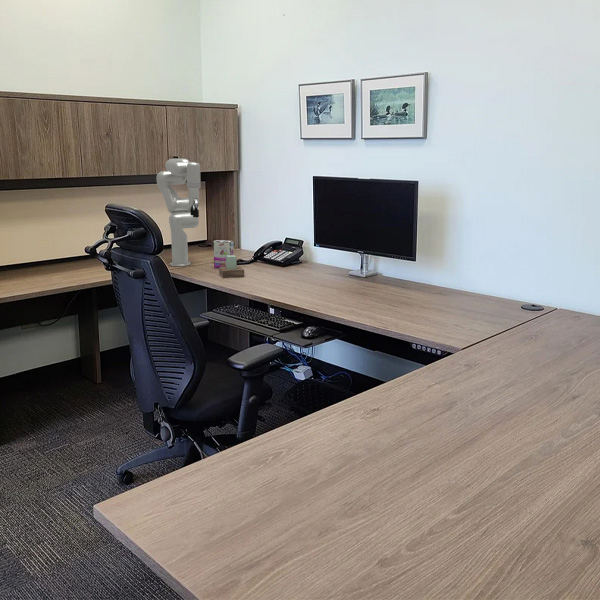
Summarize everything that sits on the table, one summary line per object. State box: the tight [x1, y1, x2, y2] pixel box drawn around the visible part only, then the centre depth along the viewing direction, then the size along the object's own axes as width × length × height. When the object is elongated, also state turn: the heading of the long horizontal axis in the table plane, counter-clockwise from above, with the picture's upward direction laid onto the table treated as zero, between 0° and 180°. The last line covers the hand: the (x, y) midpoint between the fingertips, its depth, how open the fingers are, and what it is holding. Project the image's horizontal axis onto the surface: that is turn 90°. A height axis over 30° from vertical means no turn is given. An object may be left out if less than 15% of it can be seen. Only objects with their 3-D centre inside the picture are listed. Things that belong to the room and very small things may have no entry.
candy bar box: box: [213, 239, 235, 269], centre depth 371 cm, size 11×5×16 cm, turn 73°
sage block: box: [226, 254, 238, 269], centre depth 350 cm, size 5×5×7 cm
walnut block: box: [218, 265, 245, 279], centre depth 352 cm, size 12×12×4 cm
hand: (194, 216), depth 351 cm, fingers open, 9 cm apart
